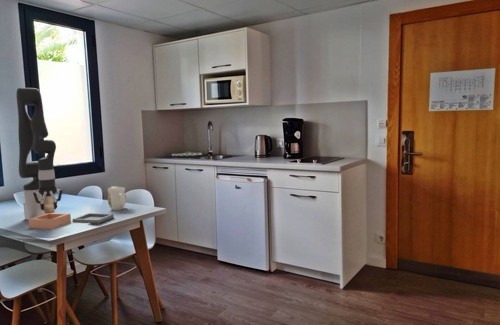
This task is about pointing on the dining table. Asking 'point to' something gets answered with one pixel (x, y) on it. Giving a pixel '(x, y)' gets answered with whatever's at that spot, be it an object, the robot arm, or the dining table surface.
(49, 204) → the cylinder
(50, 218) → the orange open box
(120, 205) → the pitcher
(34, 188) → the robot arm
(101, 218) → the tray
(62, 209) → the dining table surface
